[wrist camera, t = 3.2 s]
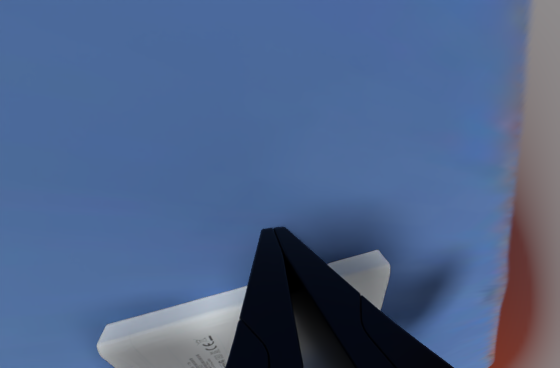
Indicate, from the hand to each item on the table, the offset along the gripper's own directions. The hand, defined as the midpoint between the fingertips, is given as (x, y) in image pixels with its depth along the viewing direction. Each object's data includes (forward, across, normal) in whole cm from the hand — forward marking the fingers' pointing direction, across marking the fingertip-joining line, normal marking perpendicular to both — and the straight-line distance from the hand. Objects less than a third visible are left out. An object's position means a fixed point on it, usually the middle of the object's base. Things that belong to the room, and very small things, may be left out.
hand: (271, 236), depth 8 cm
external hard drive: (+1, 0, +7) cm, 7 cm away
